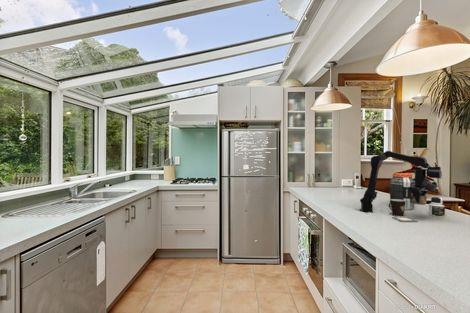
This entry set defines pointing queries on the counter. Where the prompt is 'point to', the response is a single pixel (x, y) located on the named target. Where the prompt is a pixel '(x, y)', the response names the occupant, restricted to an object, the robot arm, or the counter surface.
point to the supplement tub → (402, 189)
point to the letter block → (421, 200)
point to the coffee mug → (397, 207)
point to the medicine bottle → (437, 207)
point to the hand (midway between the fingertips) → (419, 202)
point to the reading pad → (404, 219)
